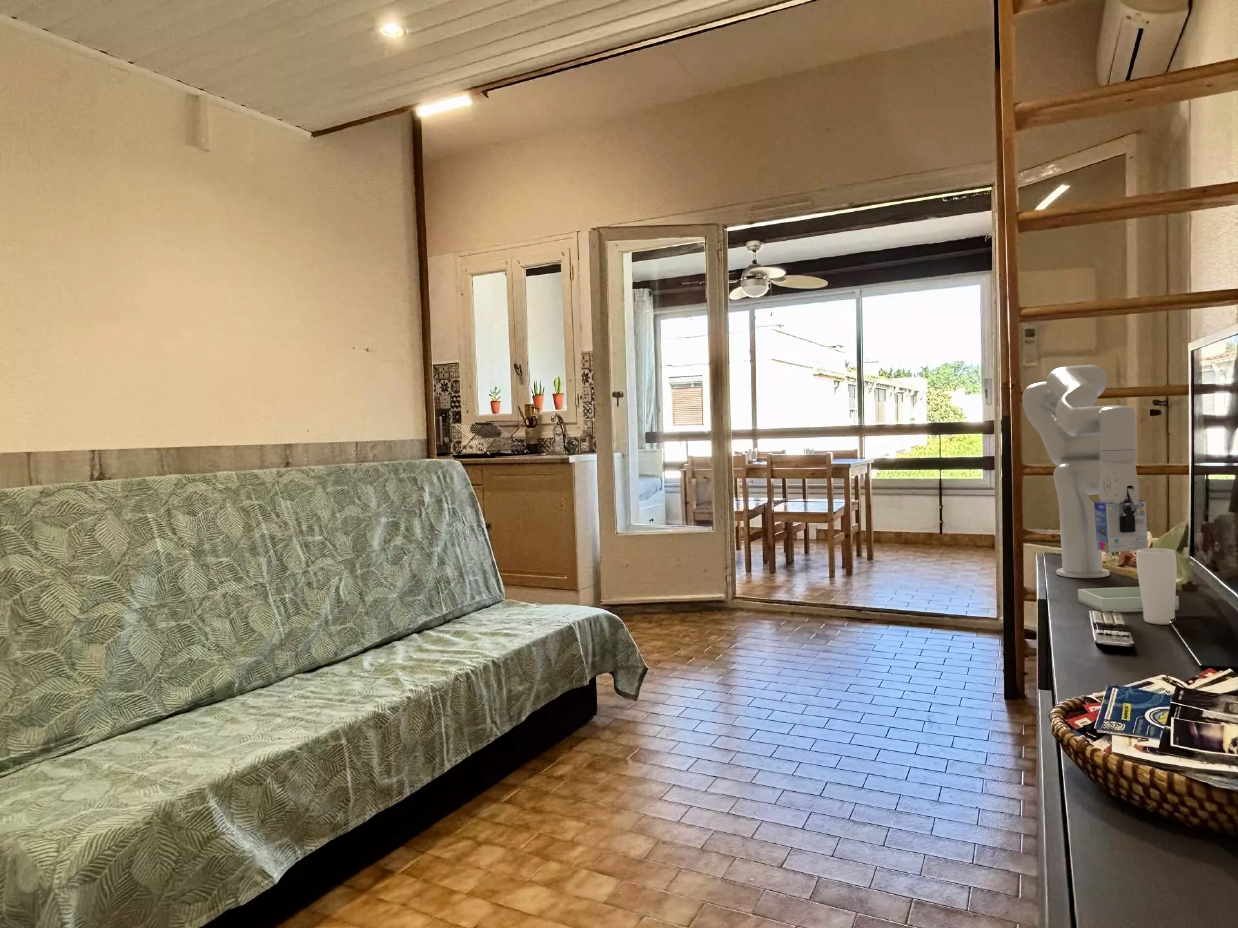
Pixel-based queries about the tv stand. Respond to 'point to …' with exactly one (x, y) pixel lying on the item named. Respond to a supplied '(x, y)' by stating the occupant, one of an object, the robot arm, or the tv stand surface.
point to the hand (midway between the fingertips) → (1120, 529)
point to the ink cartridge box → (1110, 528)
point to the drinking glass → (1157, 583)
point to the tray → (1114, 599)
